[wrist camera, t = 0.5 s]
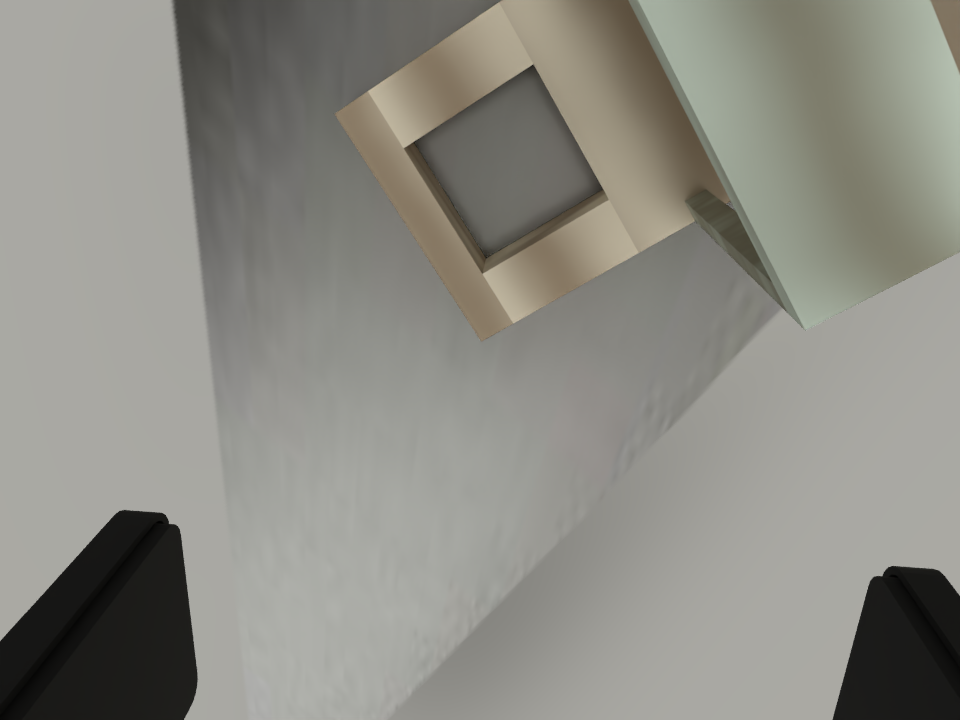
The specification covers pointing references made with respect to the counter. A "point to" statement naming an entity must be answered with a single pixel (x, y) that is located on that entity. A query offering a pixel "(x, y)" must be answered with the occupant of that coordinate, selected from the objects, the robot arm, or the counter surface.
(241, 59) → the counter surface
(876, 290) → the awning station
